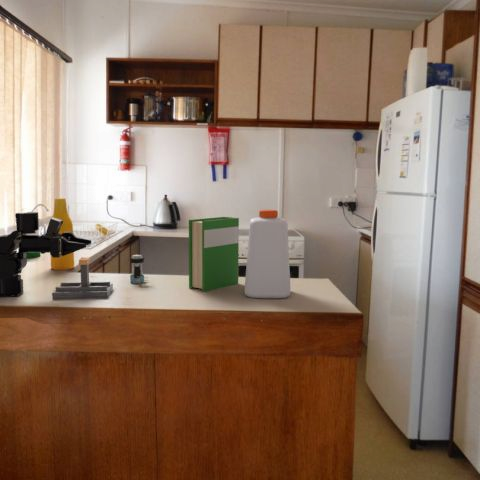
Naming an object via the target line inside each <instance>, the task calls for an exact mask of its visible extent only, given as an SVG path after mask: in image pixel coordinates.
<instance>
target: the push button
mask: <svg viewBox="0 0 480 480" xmlns="http://www.w3.org/2000/svg"><path fill="white" fill-rule="evenodd" d="M144 260H145V257H143V254H132V255H131V257H129V261H130V264H131V272H132V273H131V275H130V279H129V280H130V283H131V284H139V283H141V282H143V283H145V281H148V279H149V277H145V275H144V273H143V263H144V262H145V261H144Z"/></svg>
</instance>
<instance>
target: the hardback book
mask: <svg viewBox="0 0 480 480" xmlns="http://www.w3.org/2000/svg"><path fill="white" fill-rule="evenodd" d="M239 219H240V218H239V217H232V216H231V217H229V216H220V217H219V216H216V217H207V218H195V219H194V218H193V219H188V289H189V290H190V289H191V290H193V289H197V288H198V289H201V291H202V292H203V293H205V292H209V291H213V290H217V289H221V288H225V287H230V286H235V285H238V284H239V246H240V245H239V241H240V240H239V237H240V235H239V233H240V229H239V228H240V227H239V226H240V220H239Z"/></svg>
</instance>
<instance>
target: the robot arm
mask: <svg viewBox="0 0 480 480" xmlns="http://www.w3.org/2000/svg"><path fill="white" fill-rule="evenodd" d="M14 215H15V219H16V220H15V223H16V230H13V231H12V232H11V233H9V234H2V235H0V297H18V296H20V295H21V294H23V293H24V279H22V274H21V273H22V271H23V269H24V268H25V267H26V266H27V264H28V258H26V257H27V254H26V253H40V255H44V254H46V253H49V254H50V257H51V256H52V257H53V258H59V257H61V256H65V255H67V254H70V253H73V252H74V253H75V252H77V251H80V250H82V249H86V248H87V246H88V245H89V246H90V245H91V244H92V240H91V239H86V238H83V237H82V238H81V237H77V236H76V235H75V234H74V232H73V233H72V232H64V233H63V234H62V235H61V233H59V230H60V228H61V225H62V224H63V220H60V219H59V218H54V217H53V218H52V217H51V218H50V220H49V222H48V224H47V229H46V231H45V233H43V234H39V235H26V234H33V233H36V231H37V230H39V231H40V222H39V219H40V218H39V212H38V211H28V212H16V213H15V214H14ZM20 240H21V242H20ZM18 248H19V252H18ZM59 252H61V254H59Z"/></svg>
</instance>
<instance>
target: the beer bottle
mask: <svg viewBox="0 0 480 480" xmlns="http://www.w3.org/2000/svg"><path fill="white" fill-rule="evenodd" d="M53 205H54V206H53V214H52V216H51V218H53V217H54V218H59V219H60V220H63V224H62V225H61V228H60V230H59V233H61V235H62V234H63V233H64V232H72V233H73V234H74V226H73V221H72V218H71V217H70V215H69V213H68V207H67V201H66V198H64V197H63V198H62V197H61V198H60V197H59V198H58V197H57V198H54V204H53ZM59 254H61V252H59ZM50 267H51V269H52V270H55V271H67V270H72V269H74V267H75V252H73V253H70V254H67V255H65V256H61V257H59V258H53V257H52V256H51V255H50Z"/></svg>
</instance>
